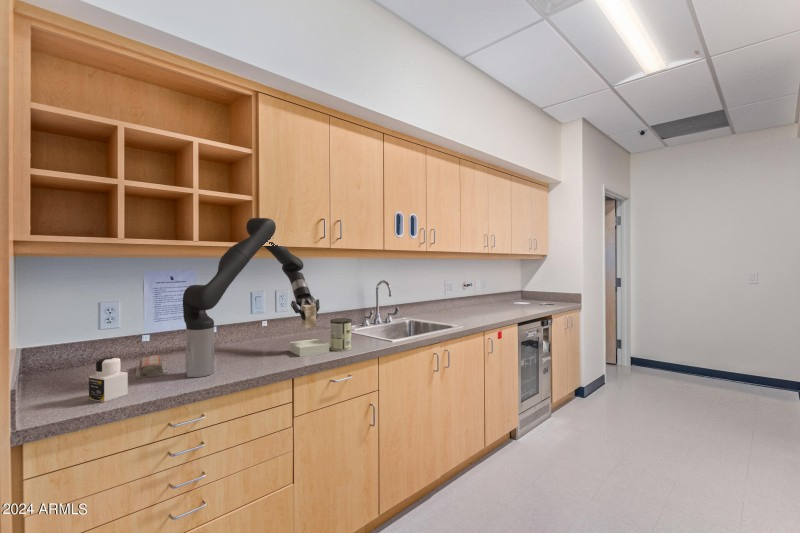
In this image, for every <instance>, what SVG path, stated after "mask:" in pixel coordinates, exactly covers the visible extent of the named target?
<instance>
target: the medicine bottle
mask: <svg viewBox="0 0 800 533" xmlns="http://www.w3.org/2000/svg"><path fill="white" fill-rule="evenodd" d="M128 375H129V374H128V372H124V371H121V359H120V357H119V358H118V357H116V356H114V357H113V356H112V357H111V356H110V357H104V358H100V359H98V360H97V361H96V362H95V374H93V375H89V377H88V399H89V400H91V401H96V402H102V403H106V402H110V401H113V400H117V399H119V398H122V397H125V396H127V395H128V394H129V393H128V392H129V390H128V386H129V385H128V384H129V382H128V380H129V378H128Z"/></svg>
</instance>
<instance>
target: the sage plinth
mask: <svg viewBox="0 0 800 533" xmlns="http://www.w3.org/2000/svg"><path fill="white" fill-rule="evenodd" d="M288 344H289V345H288V350H289V352H291V353H292V354H295V355H296V356H297V357H308V356H314V355H321V354H328V353H330V343H328V342H326V341H323V340H321V339H318V338H314V339H305V340H298V341H297V340H296V341H289V342H288Z"/></svg>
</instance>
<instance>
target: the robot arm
mask: <svg viewBox="0 0 800 533" xmlns="http://www.w3.org/2000/svg"><path fill="white" fill-rule="evenodd" d="M276 229H277V225H276V222H275V221H274V220H273V219H271V218H268V217H253V218H250V219H248V221H247V223H246V229H245V230H246V232H247V234H248V235H249V236H248V237H247V238H245V239H243V240H241V241H239V242H237V243H235V244H233V245H232V246H230V247H229V248H228V250H226V251H225V252H224V253H223V255H222V256H221V257H220V260H219V261H218V264H217V265H218V267H217V271H216V274H215V275H214V276H213V277H212V278H211V279H210V281H208V283H206V284H192V285H189V286H187V287H186V289H184V292H183V294H182V295H183V296H182V311H183V312H182V313H183V316H182V317H183V321H184V323H185V327H186V328H185V330H186V333H185V334H186V336H185V337H186V339H185V341H186V343H185V344H186V347H185V353H184V354H185V375H186V377H187V378H201V377H208V376H210V375H212V374H214V373H215V321H214V319H213V318H212V317H210V316H209V315H208V313H207V311H208V310H209V311H210V310H212V309H214V308H215V307H216V306H217V305H218V303H219V302H220V300H222V298H223V296H224V294H225V293H226V291H227V290H228V288H229V287H230V285H231V284H232V283H233V282H234V280H236V278H237V276H239V274H240V273H241V272H242V271H243V270H244V269H245V267H246V266H247V265H248V263H249V262H250V261H251V259H253V257H254V256H255V255H256V254H257V253H258V252H259V251H260V249H261V248H263V247H264V248H265V249H266V250H267V251H268V252H270V254H271V255H272V256H274V258H275V259H276V260H277V261H278V262H279V263H280V264H281V265H282V266H281V269H282V271H283V274H285V276H286V277H287V278H288V280H289V283H290V286H291V289H292V293H293V296H294V299H295V301H294V300H292V301H291V302H290V306H291V308H292V310H293V312H294V313H295V314H299V316H300V317H301V320H302V319H303V320H305V319H306V316H305V313H304V311H303V305H315V306H316V320H317V318H319V314H318V312H319V311H320V309H321V308H320V299H318V298H317V299H313V297H312V294H311V291H310V288H309V286H308V283H307V282H306V278H305V277H304V273H302V272H301V271H302V270H303V269H304V262H303V260H301V258H299V257H298V256H296V255H295V254H292V253H291V252H290V250H288V248H287V247H286V246H285V247H283V246H278V245H275V244H274V243H273V242H269V244H270V243H271V245H272V244H273V245H272V246H263V245H264V244H265V243H266V242H268V240H270V239H271V237H272V238H273V237H274V235H275V232H276ZM274 245H275V246H274Z"/></svg>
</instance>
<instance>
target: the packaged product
mask: <svg viewBox="0 0 800 533" xmlns="http://www.w3.org/2000/svg"><path fill="white" fill-rule="evenodd" d="M166 375H168V367H167V361H166V360H163V361H162V359H161V355H157V354H155V355H151V356H147V357H144V358H141V359H140V360H139V365H136V370H135V379H145V378H153V377H160V376H166Z"/></svg>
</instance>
